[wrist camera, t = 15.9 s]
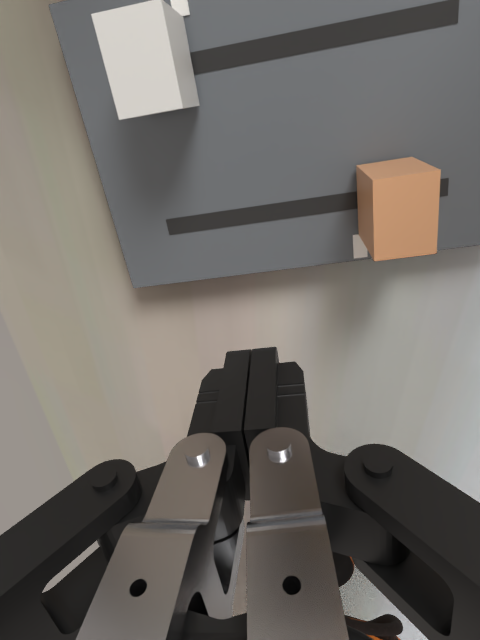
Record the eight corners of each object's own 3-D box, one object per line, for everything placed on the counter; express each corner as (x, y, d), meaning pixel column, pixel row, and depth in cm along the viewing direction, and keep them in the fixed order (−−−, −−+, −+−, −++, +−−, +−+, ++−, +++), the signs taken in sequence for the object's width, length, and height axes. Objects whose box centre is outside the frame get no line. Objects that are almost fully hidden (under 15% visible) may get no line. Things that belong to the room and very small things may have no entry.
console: (521, -92, 24) (547, -112, 22) (487, 232, 33) (503, 242, 31) (66, 11, 28) (47, 4, 26) (142, 276, 37) (133, 288, 34)
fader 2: (411, 156, 28) (440, 169, 23) (410, 227, 30) (436, 253, 25) (356, 165, 29) (372, 180, 24) (358, 234, 31) (374, 261, 26)
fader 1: (183, 17, 25) (160, -2, 21) (199, 105, 28) (182, 108, 23) (126, 29, 26) (91, 14, 21) (146, 115, 28) (119, 119, 23)
